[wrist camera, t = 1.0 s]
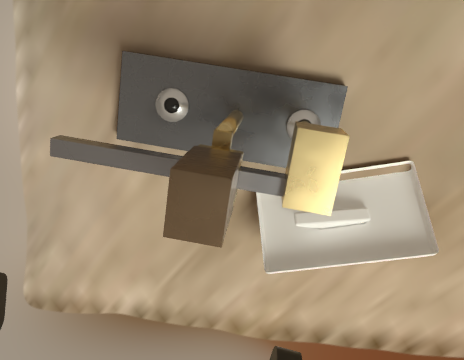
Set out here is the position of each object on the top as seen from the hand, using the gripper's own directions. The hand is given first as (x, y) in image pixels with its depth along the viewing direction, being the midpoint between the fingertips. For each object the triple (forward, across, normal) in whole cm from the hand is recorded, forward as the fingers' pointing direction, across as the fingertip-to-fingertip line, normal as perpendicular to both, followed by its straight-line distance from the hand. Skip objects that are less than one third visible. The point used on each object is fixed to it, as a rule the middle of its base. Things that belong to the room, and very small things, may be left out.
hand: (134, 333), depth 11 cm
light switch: (+28, -11, +3) cm, 30 cm away
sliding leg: (+25, 0, -2) cm, 25 cm away
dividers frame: (+26, +2, -2) cm, 26 cm away
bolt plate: (+28, +1, -3) cm, 28 cm away
